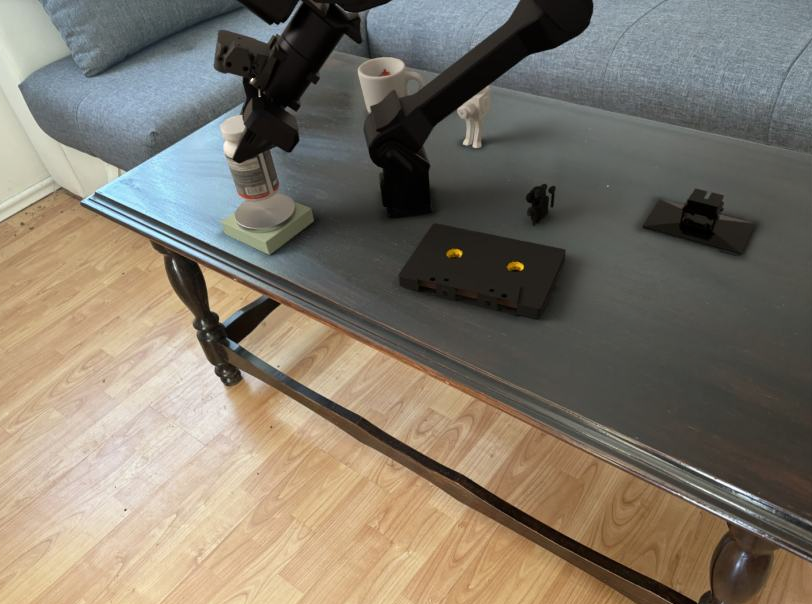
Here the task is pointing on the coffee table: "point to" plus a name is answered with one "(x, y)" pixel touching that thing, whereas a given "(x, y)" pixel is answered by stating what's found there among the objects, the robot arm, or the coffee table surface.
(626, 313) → the coffee table surface
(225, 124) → the pill bottle
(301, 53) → the robot arm
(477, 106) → the toy robot
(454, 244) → the cassette tape
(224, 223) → the scale
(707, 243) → the build plate
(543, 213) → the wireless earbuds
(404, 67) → the cup
